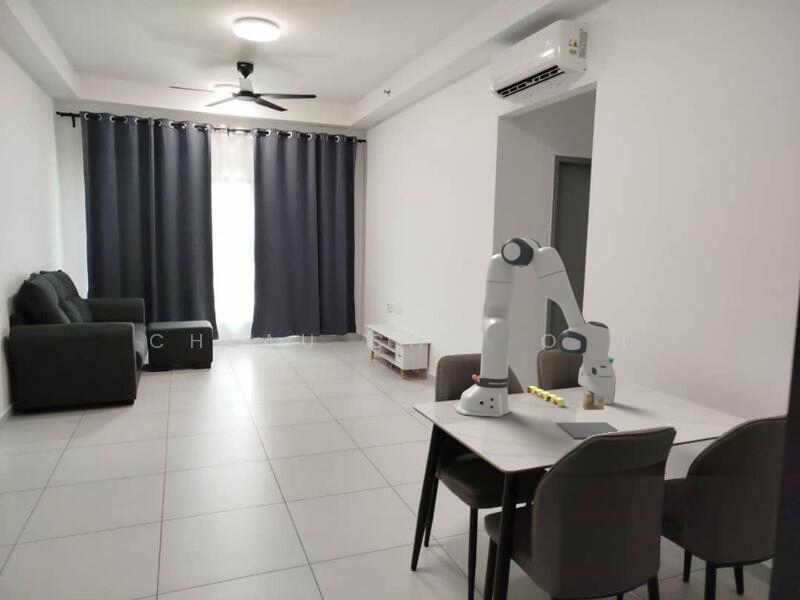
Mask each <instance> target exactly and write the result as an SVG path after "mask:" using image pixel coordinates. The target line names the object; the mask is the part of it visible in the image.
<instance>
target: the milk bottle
mask: <svg viewBox="0 0 800 600" xmlns="http://www.w3.org/2000/svg"><path fill="white" fill-rule="evenodd" d="M608 357H609V356H608ZM613 363H614V358H613V357H609V364H610V366H611V367H612V368H613V369H614V367H613ZM612 377H613V381H614V383H613V394H612V396H611V398H604V405H613V404H614V403H615V398H616V397H615V396H616V395H615V394H616V381H617V380H616V379H617V378H616V375H615V376H612Z"/></svg>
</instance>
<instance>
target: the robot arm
mask: <svg viewBox="0 0 800 600" xmlns="http://www.w3.org/2000/svg"><path fill="white" fill-rule="evenodd" d="M524 267H531V268H532V270H533V272H534V274H535V278H536V280H537V284H538V287H539V289H540V290H541V292H542V294H543V296H545V298H547V299H549V300H551V301H553V302H555V303H556V304H557V305H558V306H559V307H560V308H561V311H562V314H563V315H564V318H565V321H566V323H567V325H568V329H566V330H563V331H562V332H561V333H559V335H558V336H557V346H558V349H559V350H560V351H561V352H562V353H563V354H566V355H570V356H574V355H575V356H576V355H582V356H583V358H582V363H581V366H579V371H578V379H577V382H578V385H579V386H580V387H583V388H584V389H586V392H593V393H594V396H595V397H594V399H593V404H594V405H599V400H600V398H611V396H612V394H613V383H614V381H613V377H612V376H616V370H615V369H614V367H613V368H612V367H611V366H610V364H609V350H610V346H611V344H610V343H611V342H610V341H611V340H610V339H611V338H610V337H611V336H610V329H609V327H608V326H607V324H605V323H602V322H599V321H593V320H591V321H587V322H586V320H585V319H584V316H583V314H582V310H581V308H580V305H579V303H578V300H577V299H576V296H575V294H574V291H573V288H572V286H571V283H570V279H569V277H568V273H567V271H566V267H565V265H564V262H563V260H562V258H561V256H560V254H559V252H558V251H557V249H556V248H555V247H552V246H544V247H542V246H541V245H540V243H539V242H538V241H537V240H534V239H533V238H528V237H522V236H521V237H512V238H508V239H507V240H506V241H505V242H504V243H503V245H502V246H501V249H500V253H497V254H494V255H493V256H491V257H490V258H489V262H488V266H487V271H486V277H485V290H484V291H485V292H484V303H483V309H482V310H483V312H482V318H481V332H482V347H481V348H482V349H481V356H480V374H479V375H478V376H477V375H476V374H473V375H472V380H474V384H473V385H472V386H470V387H469V388H468V389H466V390H464V391H463V392H462V394H461V396H460V400H459V402H456V403H455V404H454V410H455V411H456V412H457V413H459V414H461V415H464V416H475V417H477V416H478V417H480V416H481V417H494V418H495V417H496V418H498V417H499V418H500V417H503V415H507V414H509V413H510V412H511V409H510V405H509V396H508V391H509V386H510V381H509V360H510V350H511V347H512V345H511V344H512V336H513V329H512V326H511V324H510V317H511V316H510V315H511V310H512V304H513V301H514V300H513V297H514V286H515V285H514V284H515V283H514V282H515V275H516V271H517V269H518V268H524Z"/></svg>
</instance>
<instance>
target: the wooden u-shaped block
mask: <svg viewBox="0 0 800 600" xmlns="http://www.w3.org/2000/svg"><path fill="white" fill-rule="evenodd" d="M594 397H595V396H594V393H593V392H587V391H586V392H585V391H584V392H583V401H582V402H583V404H582V405H583V406H582V409H583V410H585V411H595V410H596V411H599V410H601V411H602V410H603V411H604V410H605V404H604V398H600V400H599V405H594V404H593V399H594Z"/></svg>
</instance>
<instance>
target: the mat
mask: <svg viewBox="0 0 800 600" xmlns="http://www.w3.org/2000/svg"><path fill="white" fill-rule="evenodd" d="M555 424H556V425H557V426H558V427H560V429H561V430H563V431H564V432H565V433H566V434H567V435H569V436H570V437H573V438H572V439H573V440H585V439H584V438H587V437H589V436H592V435H597V434H602V433H608V432H617V431H619V430H618V429H617V428H616V427H614V426H613V425H611V424H609V422H604V421H603V422H599V421H597V422H593V421H592V422H591V421H589V422H586V421H585V422H582V421H581V422H580V421H579V422H578V421H577V422H575V421H574V422H556V423H555ZM578 438H580V439H578Z"/></svg>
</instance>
